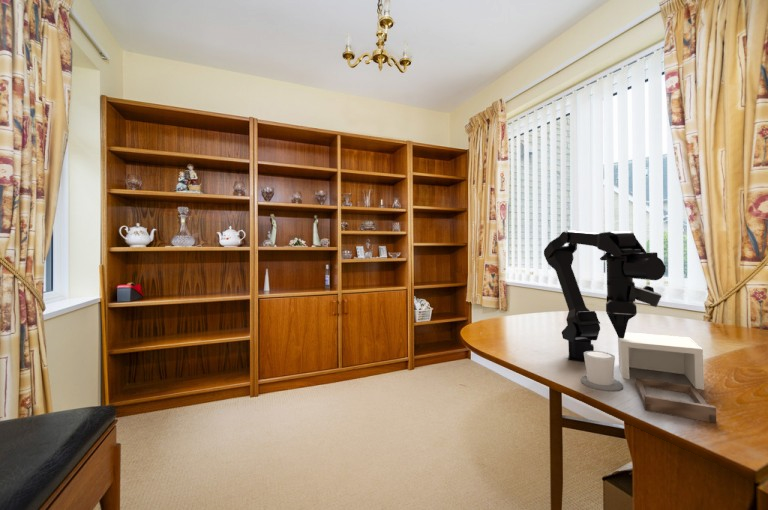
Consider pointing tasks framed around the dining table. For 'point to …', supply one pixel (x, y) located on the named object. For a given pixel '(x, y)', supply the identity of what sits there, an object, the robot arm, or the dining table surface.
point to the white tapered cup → (599, 367)
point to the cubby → (662, 355)
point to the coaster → (613, 387)
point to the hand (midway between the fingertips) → (620, 334)
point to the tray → (676, 401)
